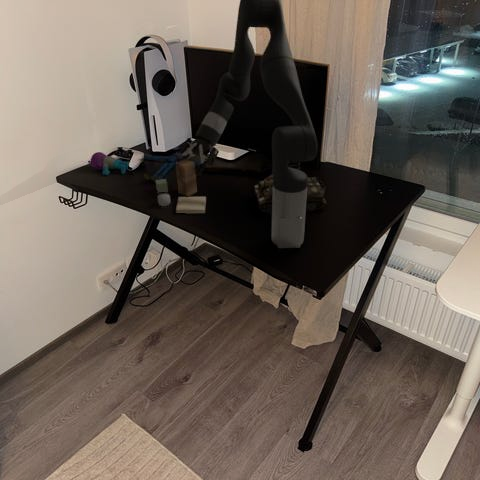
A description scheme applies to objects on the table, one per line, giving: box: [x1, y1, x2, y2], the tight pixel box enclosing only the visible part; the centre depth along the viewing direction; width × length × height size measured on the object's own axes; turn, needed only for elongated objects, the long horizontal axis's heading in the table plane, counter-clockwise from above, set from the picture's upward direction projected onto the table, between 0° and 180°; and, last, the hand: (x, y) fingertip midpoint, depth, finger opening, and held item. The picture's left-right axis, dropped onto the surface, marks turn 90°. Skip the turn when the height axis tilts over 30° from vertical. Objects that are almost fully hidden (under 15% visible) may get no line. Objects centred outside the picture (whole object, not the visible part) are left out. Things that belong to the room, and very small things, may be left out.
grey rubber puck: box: [157, 193, 172, 206], centre depth 149 cm, size 4×4×3 cm
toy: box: [87, 151, 130, 176], centre depth 172 cm, size 12×7×15 cm
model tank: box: [253, 162, 327, 215], centre depth 145 cm, size 13×22×15 cm, turn 96°
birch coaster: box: [175, 196, 207, 214], centre depth 147 cm, size 9×9×1 cm
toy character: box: [143, 152, 212, 183], centre depth 171 cm, size 30×4×25 cm
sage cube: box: [155, 178, 169, 194], centre depth 157 cm, size 4×4×4 cm
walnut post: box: [175, 159, 198, 197], centre depth 153 cm, size 4×4×11 cm
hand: (188, 171), depth 153 cm, fingers open, 8 cm apart
